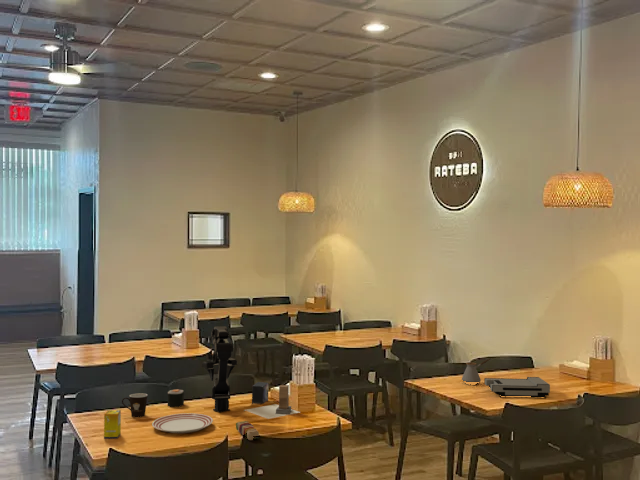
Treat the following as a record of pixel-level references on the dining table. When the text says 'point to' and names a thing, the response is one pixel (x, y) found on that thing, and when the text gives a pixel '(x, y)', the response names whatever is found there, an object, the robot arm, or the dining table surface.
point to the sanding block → (283, 400)
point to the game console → (518, 386)
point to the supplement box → (112, 424)
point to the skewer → (247, 429)
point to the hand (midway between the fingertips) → (219, 379)
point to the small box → (260, 393)
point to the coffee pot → (472, 372)
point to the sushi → (175, 398)
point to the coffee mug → (137, 404)
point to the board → (269, 411)
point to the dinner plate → (182, 422)
